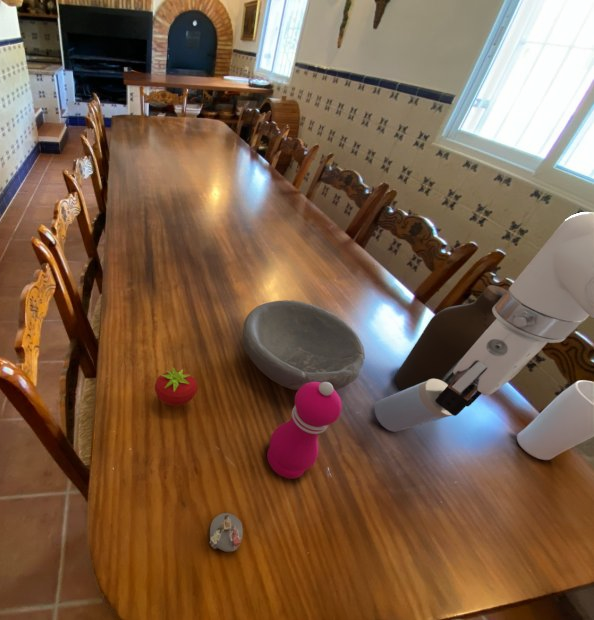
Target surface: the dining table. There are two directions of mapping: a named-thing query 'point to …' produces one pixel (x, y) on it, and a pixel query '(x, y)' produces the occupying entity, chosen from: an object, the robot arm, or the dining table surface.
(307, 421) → the pepper mill
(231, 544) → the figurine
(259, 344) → the bowl
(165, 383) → the red tomato
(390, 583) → the dining table surface
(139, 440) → the dining table surface
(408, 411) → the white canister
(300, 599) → the dining table surface
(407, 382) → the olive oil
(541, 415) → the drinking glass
